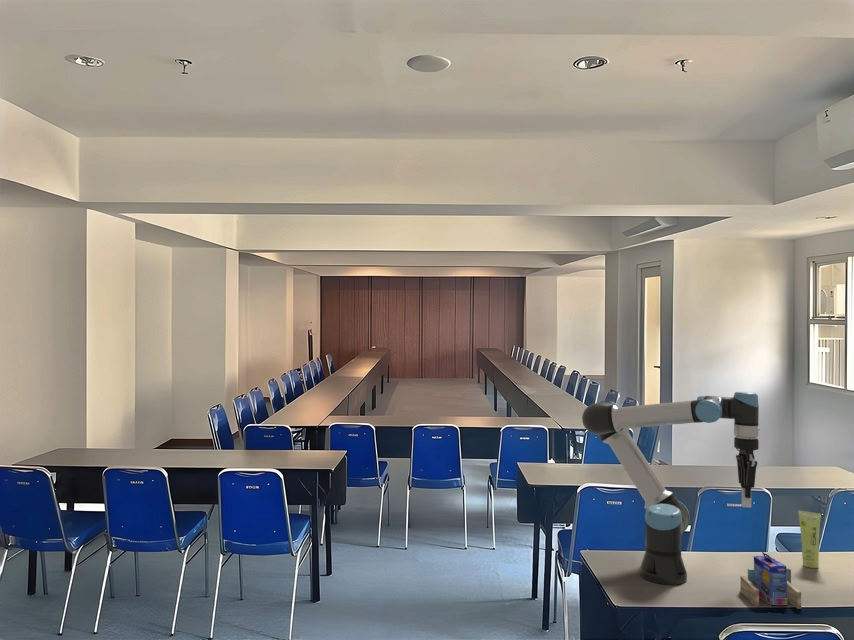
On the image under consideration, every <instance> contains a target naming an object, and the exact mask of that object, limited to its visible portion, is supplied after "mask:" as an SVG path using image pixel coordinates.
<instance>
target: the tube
mask: <svg viewBox="0 0 854 640" xmlns="http://www.w3.org/2000/svg"><path fill="white" fill-rule="evenodd" d="M797 515H798V519H799V520H798V521H799V528H800V539H801V553H802V555H801V557H802V558H801V559H802V566H804V567H805V568H810V569H818V568H819V567H820V565H819V561H820V559H819V557H820V556H819V554H820V553H819V551H820V547H819V546H820V529H821V520H822V513H818V512H812V511H811V512H810V511H806V510H805V511H804V510H799V509H798V510H797Z"/></svg>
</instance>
